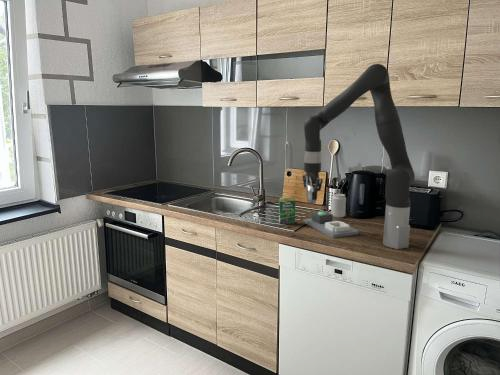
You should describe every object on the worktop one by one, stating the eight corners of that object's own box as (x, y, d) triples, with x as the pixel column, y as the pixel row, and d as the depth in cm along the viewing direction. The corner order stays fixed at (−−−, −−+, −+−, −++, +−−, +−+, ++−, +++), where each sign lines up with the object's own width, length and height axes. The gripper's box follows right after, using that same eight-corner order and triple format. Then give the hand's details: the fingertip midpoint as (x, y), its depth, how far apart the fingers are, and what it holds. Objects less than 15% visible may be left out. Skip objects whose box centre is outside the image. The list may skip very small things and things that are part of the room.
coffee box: (278, 224, 182) (279, 198, 179) (278, 222, 185) (278, 197, 182) (295, 224, 182) (295, 198, 179) (294, 222, 185) (295, 197, 182)
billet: (317, 202, 166) (318, 185, 165) (310, 203, 165) (310, 186, 163) (313, 201, 170) (313, 184, 168) (305, 201, 168) (305, 184, 167)
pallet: (358, 234, 167) (359, 222, 166) (333, 237, 162) (333, 226, 161) (326, 219, 191) (327, 209, 190) (303, 222, 186) (303, 211, 185)
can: (335, 218, 192) (336, 196, 190) (328, 214, 199) (329, 193, 197) (347, 217, 194) (349, 195, 192) (340, 213, 201) (341, 192, 199)
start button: (328, 219, 181) (328, 213, 180) (320, 220, 179) (320, 214, 179) (323, 217, 185) (323, 211, 184) (315, 217, 183) (316, 212, 183)
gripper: (328, 162, 159) (327, 201, 162) (311, 159, 171) (310, 195, 175) (313, 163, 156) (312, 202, 159) (297, 160, 169) (296, 196, 172)
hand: (311, 198), depth 167 cm, fingers closed on billet, 4 cm apart
